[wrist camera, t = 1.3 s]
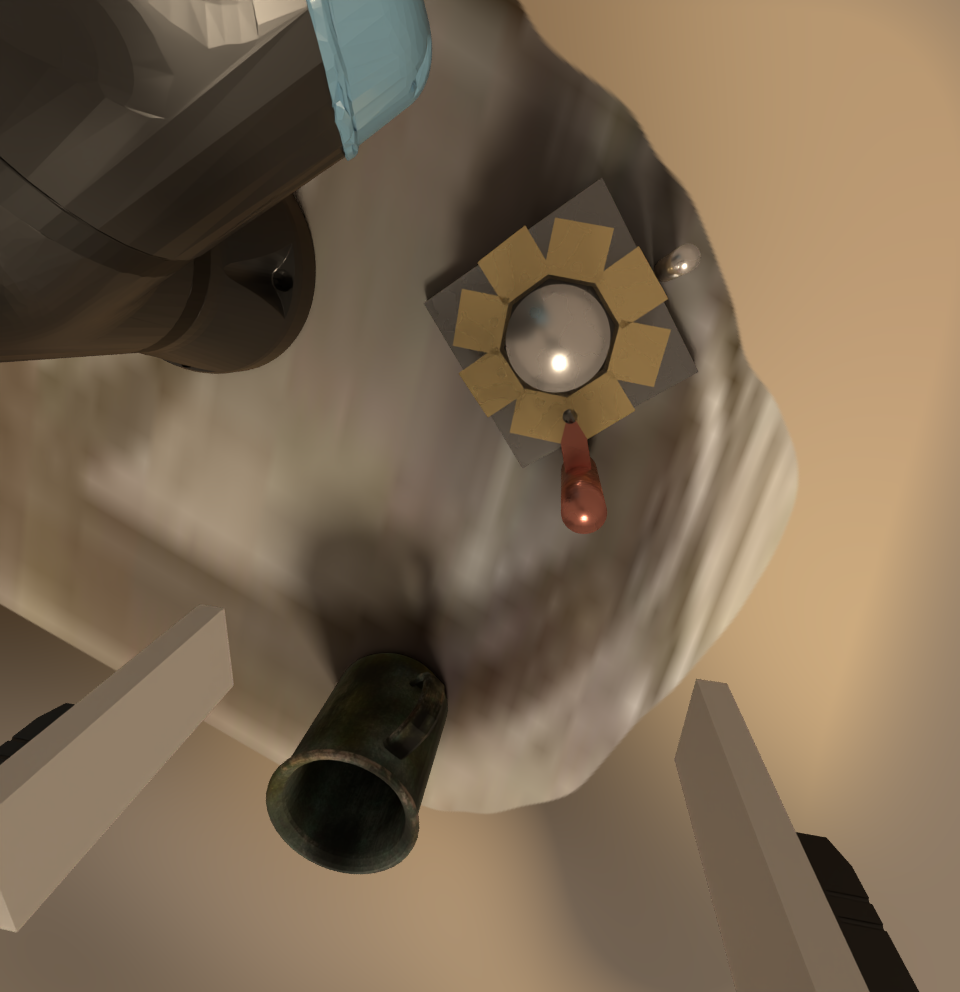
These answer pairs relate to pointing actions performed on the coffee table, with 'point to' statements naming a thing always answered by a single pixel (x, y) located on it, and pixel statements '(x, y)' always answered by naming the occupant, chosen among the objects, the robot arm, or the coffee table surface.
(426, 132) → the coffee table surface
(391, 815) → the mug
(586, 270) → the toothed crank wheel
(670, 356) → the spindle base
